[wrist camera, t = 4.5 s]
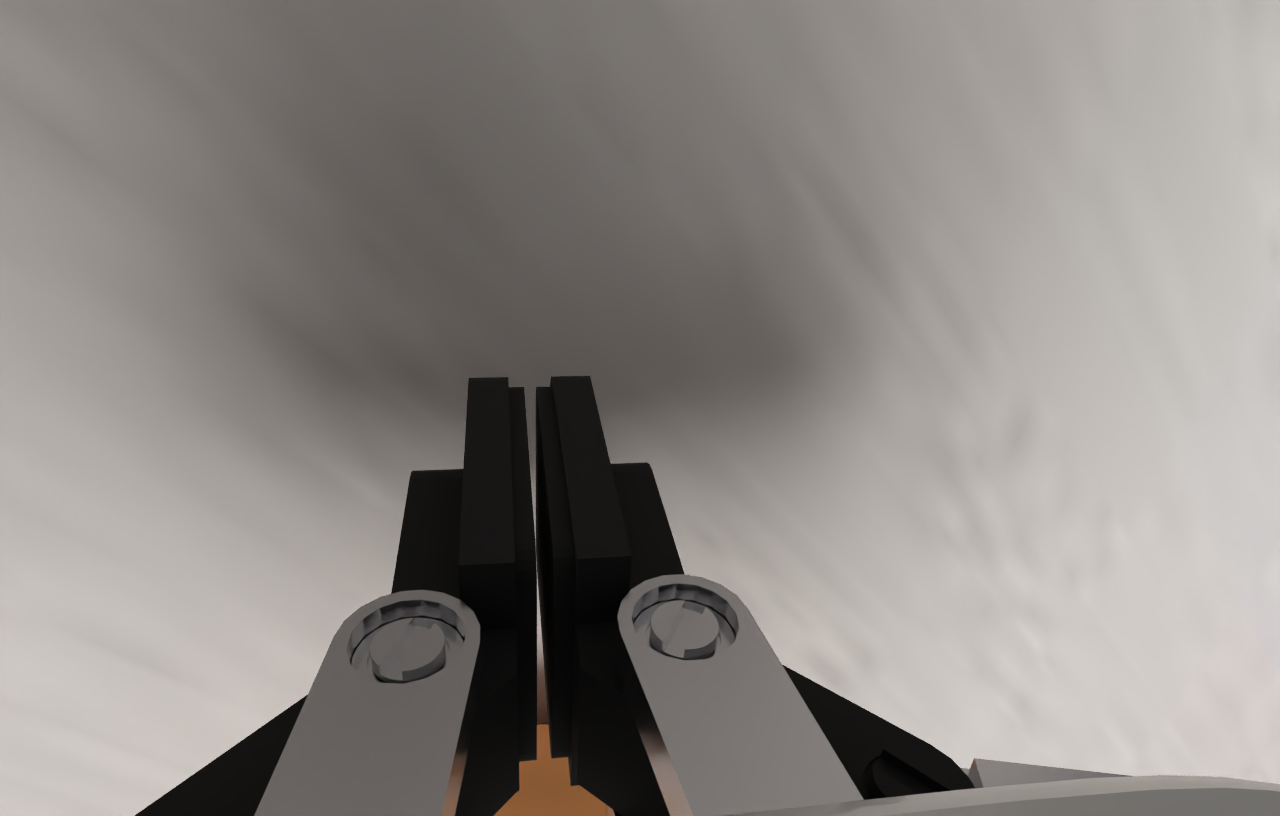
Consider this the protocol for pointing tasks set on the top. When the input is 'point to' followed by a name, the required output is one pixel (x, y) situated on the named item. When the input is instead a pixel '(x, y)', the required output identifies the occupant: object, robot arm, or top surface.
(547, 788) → the ball
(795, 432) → the top surface
